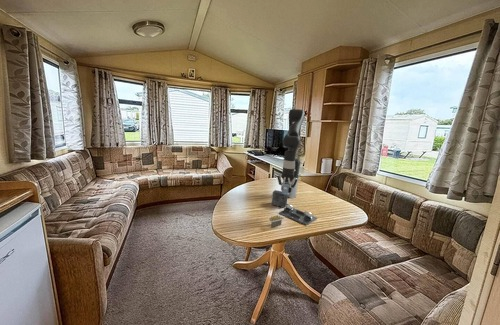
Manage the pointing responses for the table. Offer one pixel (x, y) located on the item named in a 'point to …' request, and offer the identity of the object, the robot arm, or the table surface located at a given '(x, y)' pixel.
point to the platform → (276, 220)
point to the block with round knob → (285, 188)
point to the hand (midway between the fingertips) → (286, 191)
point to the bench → (298, 215)
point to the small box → (279, 199)
